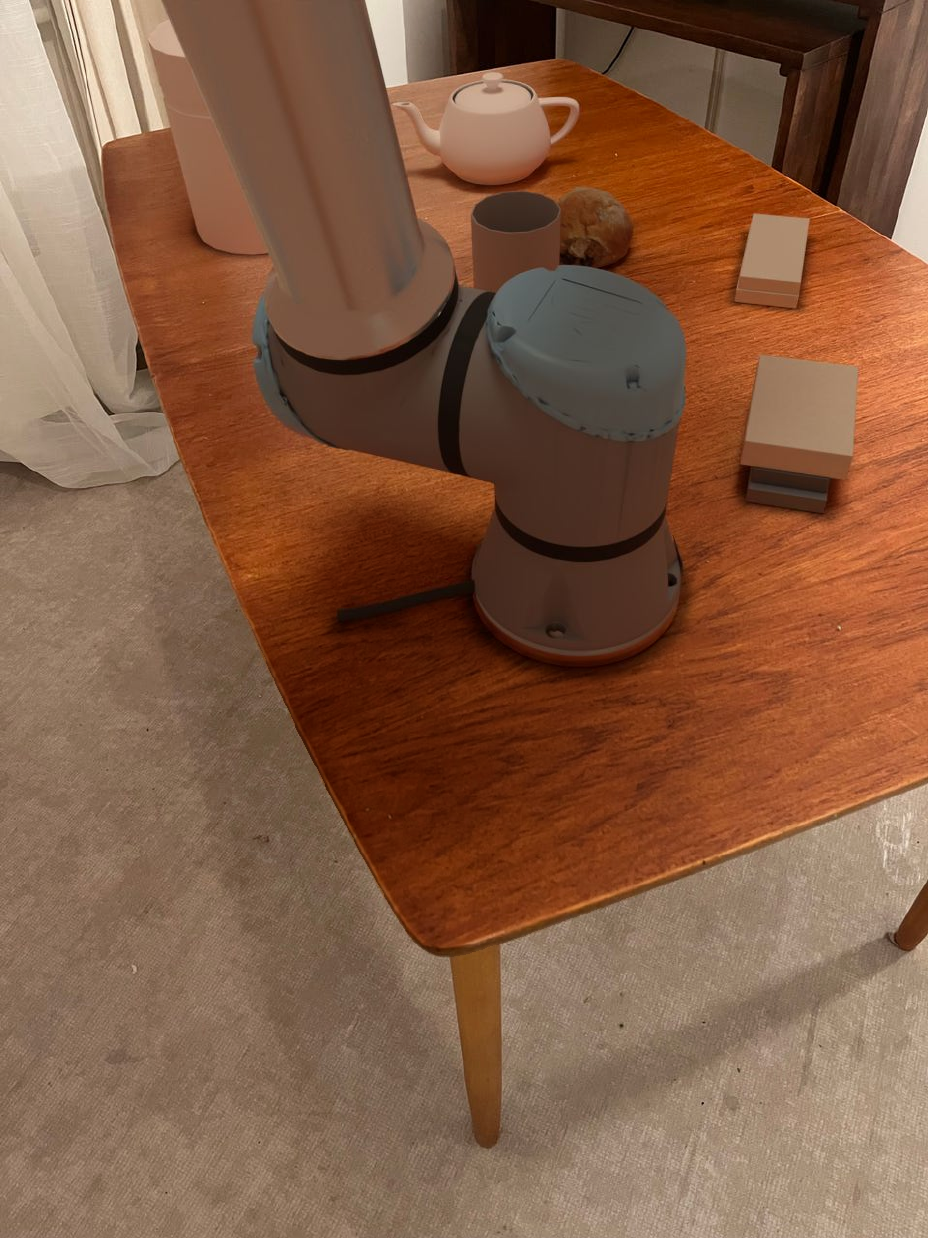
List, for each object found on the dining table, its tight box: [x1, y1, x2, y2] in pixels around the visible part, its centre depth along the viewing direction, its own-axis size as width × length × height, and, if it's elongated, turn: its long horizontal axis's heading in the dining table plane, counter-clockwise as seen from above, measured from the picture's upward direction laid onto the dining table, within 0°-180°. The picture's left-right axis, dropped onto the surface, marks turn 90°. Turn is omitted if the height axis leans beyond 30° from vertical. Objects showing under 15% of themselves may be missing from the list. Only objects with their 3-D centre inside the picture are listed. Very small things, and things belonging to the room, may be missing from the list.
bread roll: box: [556, 186, 634, 269], centre depth 105 cm, size 10×10×8 cm
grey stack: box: [745, 466, 831, 514], centre depth 81 cm, size 14×6×3 cm, turn 163°
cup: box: [470, 190, 561, 293], centre depth 96 cm, size 8×8×10 cm
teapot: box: [392, 71, 580, 186], centre depth 116 cm, size 22×14×11 cm, turn 95°
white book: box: [739, 354, 859, 481], centre depth 79 cm, size 12×8×2 cm, turn 163°
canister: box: [147, 18, 268, 256], centre depth 107 cm, size 16×16×20 cm
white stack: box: [734, 212, 811, 309], centre depth 101 cm, size 14×6×3 cm, turn 163°
